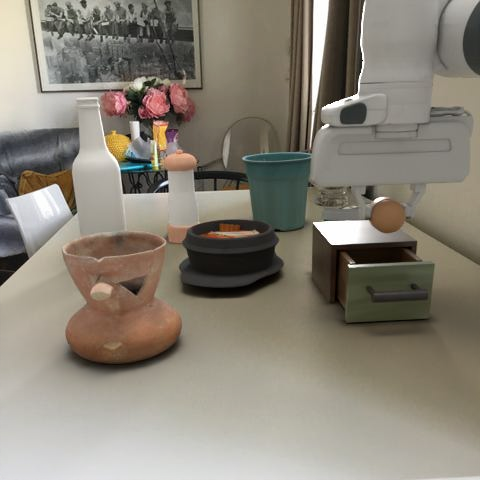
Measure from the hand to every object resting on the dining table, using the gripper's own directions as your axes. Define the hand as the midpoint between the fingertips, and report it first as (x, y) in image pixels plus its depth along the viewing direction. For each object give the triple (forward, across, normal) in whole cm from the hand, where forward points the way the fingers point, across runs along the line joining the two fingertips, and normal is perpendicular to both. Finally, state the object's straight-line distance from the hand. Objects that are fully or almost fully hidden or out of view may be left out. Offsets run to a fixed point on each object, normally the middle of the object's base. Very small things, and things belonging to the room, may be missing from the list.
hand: (385, 218), depth 76 cm
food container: (+14, -4, -30) cm, 33 cm away
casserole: (+14, +20, -23) cm, 33 cm away
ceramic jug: (+14, +35, +6) cm, 38 cm away
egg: (+2, 0, 0) cm, 2 cm away
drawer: (+13, 0, -1) cm, 13 cm away
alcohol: (+14, +44, -36) cm, 58 cm away
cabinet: (+14, 0, -12) cm, 18 cm away
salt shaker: (+14, +29, -50) cm, 59 cm away
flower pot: (+14, +7, -59) cm, 61 cm away
